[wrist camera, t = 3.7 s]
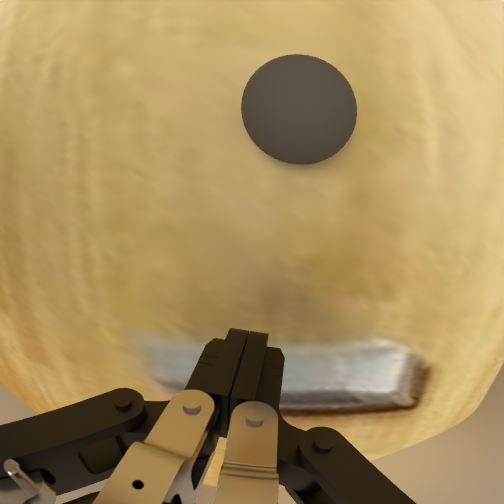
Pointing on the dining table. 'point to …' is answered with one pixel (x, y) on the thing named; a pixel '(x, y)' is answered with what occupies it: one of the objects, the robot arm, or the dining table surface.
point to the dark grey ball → (299, 109)
